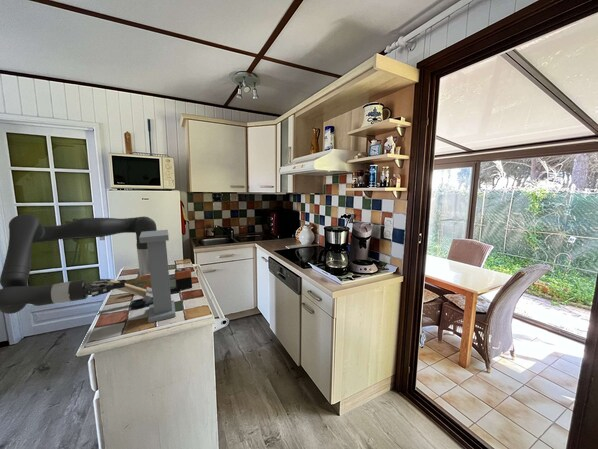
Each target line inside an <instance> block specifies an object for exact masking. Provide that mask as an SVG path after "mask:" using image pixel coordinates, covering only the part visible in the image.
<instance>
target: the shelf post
mask: <svg viewBox="0 0 598 449" xmlns="http://www.w3.org/2000/svg"><path fill="white" fill-rule="evenodd" d="M169 240H170V239H169V230H168V229H160V230H157V231H145V232H141V234H140V237H139V241H140V243H147V248H148V257H149V267H150V277H151V286H152V302H153V303H152V304H149V305H148V306H149V308H148V313H147V314H148V315H147V317H148V318H147V322H148V324H150V323H155V322H159V321H163V320H168V319H172V318H176V317H177V316H176V306H175V300H174V299H173V300H172V296H171V294H172V293H171V284H170V283H171V282H170V272H169V262H168V261H169V260H168V250H167V241H168V242H169Z"/></svg>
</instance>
